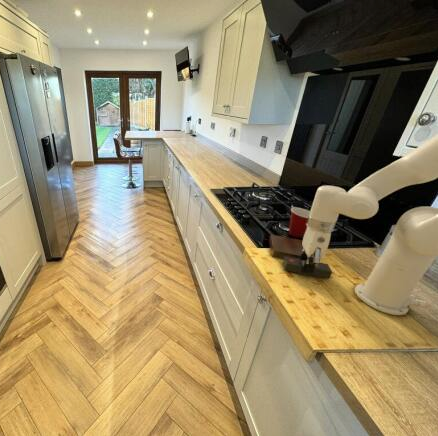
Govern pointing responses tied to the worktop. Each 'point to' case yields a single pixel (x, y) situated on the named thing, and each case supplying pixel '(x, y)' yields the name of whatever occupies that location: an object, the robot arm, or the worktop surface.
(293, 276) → the worktop surface
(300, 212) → the plastic cup
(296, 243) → the block
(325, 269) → the remote
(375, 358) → the worktop surface
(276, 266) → the worktop surface
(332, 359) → the worktop surface
